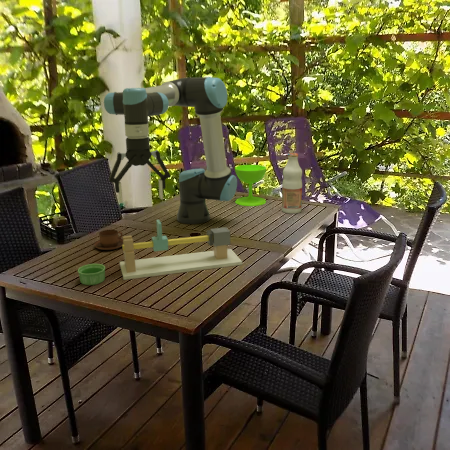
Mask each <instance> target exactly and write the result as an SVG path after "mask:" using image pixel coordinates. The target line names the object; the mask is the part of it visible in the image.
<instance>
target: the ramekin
mask: <svg viewBox="0 0 450 450" xmlns="http://www.w3.org/2000/svg"><path fill="white" fill-rule="evenodd" d="M77 273H78V276H79V281H80V283H81V284H82V285H85V286H95V285H99V284H101V283H103V282H104V281H105V280H106V266H105V264H102V263H101V264H100V263H90V264H84V265H81V266H80V267H78V269H77Z"/></svg>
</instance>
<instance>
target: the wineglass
mask: <svg viewBox="0 0 450 450" xmlns="http://www.w3.org/2000/svg"><path fill="white" fill-rule="evenodd" d="M234 170H235V174H236V175H235V176H236V178H237V179H239V180H240V181H241V182H243V183H245V184H248V194H247V195H248V196H241V197H239V198H237V199H236V200H235V201H234V202H235V204H236V205H239V206H242V207H258V206H263V205H265V204H266V203H267V201H266V199H265V198H264V197H263V198H262V197H261V196H260V197H259V196H254V195H253V184H257V183H258V182H260V181H261V180H262V179H263V178H264V177H265V175H266V172H267V167H266V165H260V164H243V165H236V166H235V167H234Z"/></svg>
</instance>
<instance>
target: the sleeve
mask: <svg viewBox="0 0 450 450" xmlns="http://www.w3.org/2000/svg"><path fill="white" fill-rule="evenodd" d="M155 221H156V236H151V241H153V245H154V247H151V248H152V249H153V252H160V251H169V245H168V240H169V239H168V237H167V235H163V229H162V228H163V227H162V221H161V220H160V219H155Z"/></svg>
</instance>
